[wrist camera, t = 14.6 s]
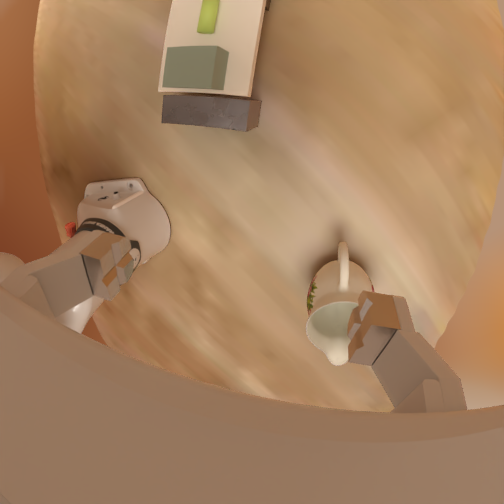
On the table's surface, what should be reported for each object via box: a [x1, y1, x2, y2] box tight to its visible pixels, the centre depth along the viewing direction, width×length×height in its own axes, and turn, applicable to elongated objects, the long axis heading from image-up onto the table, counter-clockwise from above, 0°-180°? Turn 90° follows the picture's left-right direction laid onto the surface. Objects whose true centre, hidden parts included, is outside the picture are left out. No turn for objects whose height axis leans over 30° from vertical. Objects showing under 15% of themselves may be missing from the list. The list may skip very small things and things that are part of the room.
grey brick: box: [162, 0, 271, 132], centre depth 29 cm, size 12×25×7 cm, turn 172°
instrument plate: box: [158, 0, 266, 97], centre depth 19 cm, size 20×12×14 cm, turn 172°
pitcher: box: [306, 242, 374, 366], centre depth 41 cm, size 11×18×14 cm, turn 8°
